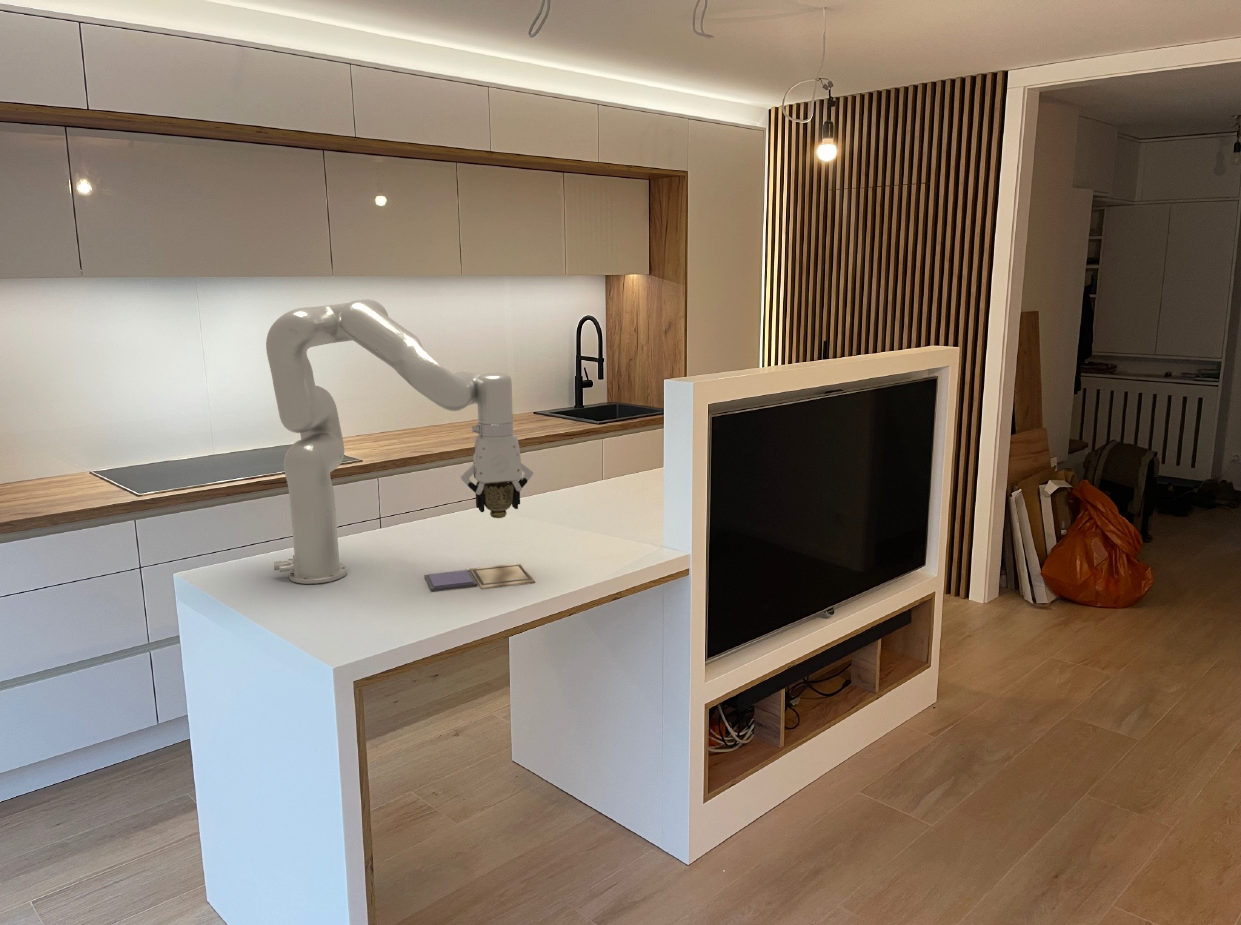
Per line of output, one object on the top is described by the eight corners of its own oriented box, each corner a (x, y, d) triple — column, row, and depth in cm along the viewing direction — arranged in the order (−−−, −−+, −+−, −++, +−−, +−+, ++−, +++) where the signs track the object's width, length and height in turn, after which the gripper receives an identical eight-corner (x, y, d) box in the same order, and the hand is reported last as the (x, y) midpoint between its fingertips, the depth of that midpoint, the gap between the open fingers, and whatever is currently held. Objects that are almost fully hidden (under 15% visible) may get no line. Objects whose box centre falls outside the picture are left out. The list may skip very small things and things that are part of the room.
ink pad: (431, 591, 200) (431, 587, 200) (424, 577, 209) (424, 573, 209) (477, 586, 203) (477, 582, 203) (468, 572, 213) (468, 568, 212)
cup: (509, 522, 203) (508, 486, 201) (476, 520, 204) (475, 484, 203) (519, 513, 210) (518, 478, 208) (488, 511, 211) (487, 477, 210)
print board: (481, 589, 202) (481, 586, 202) (469, 570, 215) (469, 568, 214) (535, 582, 206) (535, 580, 205) (520, 564, 218) (520, 562, 218)
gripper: (459, 435, 197) (462, 516, 201) (538, 430, 203) (540, 509, 206) (453, 430, 204) (456, 508, 207) (530, 425, 210) (532, 502, 213)
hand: (498, 508), depth 207 cm, fingers closed on cup, 7 cm apart
